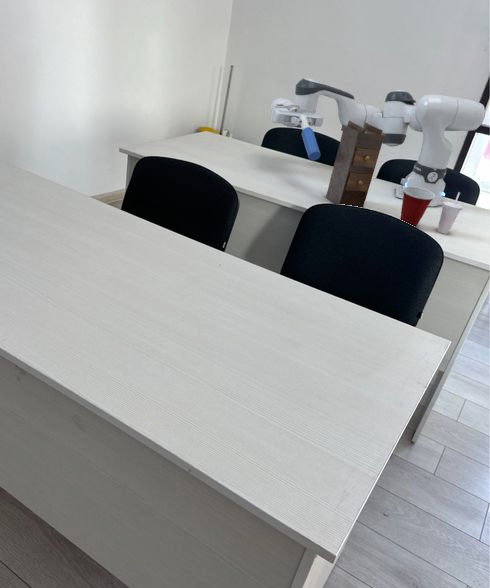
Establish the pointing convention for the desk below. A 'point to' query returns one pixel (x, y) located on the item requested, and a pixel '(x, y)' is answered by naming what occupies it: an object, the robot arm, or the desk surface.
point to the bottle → (309, 139)
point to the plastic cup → (415, 204)
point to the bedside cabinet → (355, 164)
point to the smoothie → (448, 215)
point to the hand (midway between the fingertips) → (304, 122)
